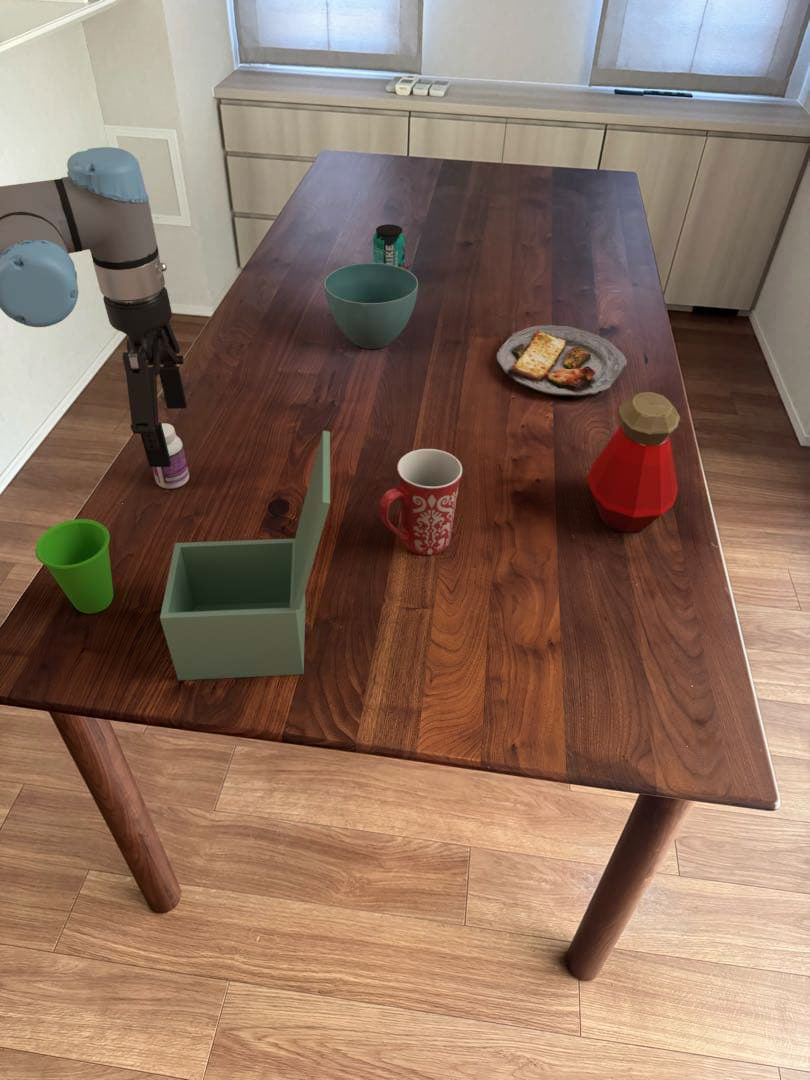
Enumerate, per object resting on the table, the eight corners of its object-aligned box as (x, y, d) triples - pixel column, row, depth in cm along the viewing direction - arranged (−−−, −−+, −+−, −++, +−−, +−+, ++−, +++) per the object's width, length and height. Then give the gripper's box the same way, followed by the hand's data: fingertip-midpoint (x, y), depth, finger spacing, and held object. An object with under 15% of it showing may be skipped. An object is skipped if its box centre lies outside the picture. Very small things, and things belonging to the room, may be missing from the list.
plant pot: (309, 336, 162) (305, 279, 154) (376, 309, 171) (376, 254, 163) (366, 372, 153) (365, 313, 144) (434, 341, 162) (437, 284, 153)
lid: (322, 502, 81) (330, 503, 81) (322, 430, 90) (329, 431, 90) (292, 609, 91) (299, 610, 92) (295, 535, 101) (301, 535, 101)
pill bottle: (195, 472, 129) (185, 423, 123) (181, 492, 125) (170, 442, 119) (164, 467, 130) (152, 418, 124) (149, 487, 126) (136, 437, 120)
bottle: (671, 553, 117) (709, 443, 103) (579, 540, 119) (604, 431, 105) (665, 487, 128) (699, 380, 115) (581, 476, 130) (604, 369, 116)
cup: (54, 629, 105) (28, 570, 97) (65, 580, 111) (41, 521, 104) (125, 621, 106) (104, 563, 98) (131, 573, 112) (112, 515, 105)
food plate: (593, 417, 143) (597, 400, 140) (477, 381, 151) (478, 364, 149) (636, 356, 159) (640, 340, 156) (529, 326, 167) (531, 310, 164)
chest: (178, 680, 99) (159, 618, 91) (190, 605, 108) (174, 542, 100) (303, 674, 100) (296, 612, 92) (305, 600, 109) (299, 538, 101)
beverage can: (409, 278, 182) (410, 226, 174) (396, 291, 178) (397, 238, 170) (381, 272, 184) (381, 220, 176) (368, 284, 180) (367, 232, 172)
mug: (434, 511, 123) (437, 440, 114) (468, 545, 118) (475, 473, 108) (364, 540, 118) (362, 469, 109) (396, 577, 113) (397, 505, 103)
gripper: (146, 342, 86) (182, 492, 101) (182, 246, 104) (208, 385, 119) (76, 343, 86) (122, 493, 101) (124, 247, 104) (158, 386, 119)
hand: (169, 435), depth 110 cm, fingers open, 13 cm apart
